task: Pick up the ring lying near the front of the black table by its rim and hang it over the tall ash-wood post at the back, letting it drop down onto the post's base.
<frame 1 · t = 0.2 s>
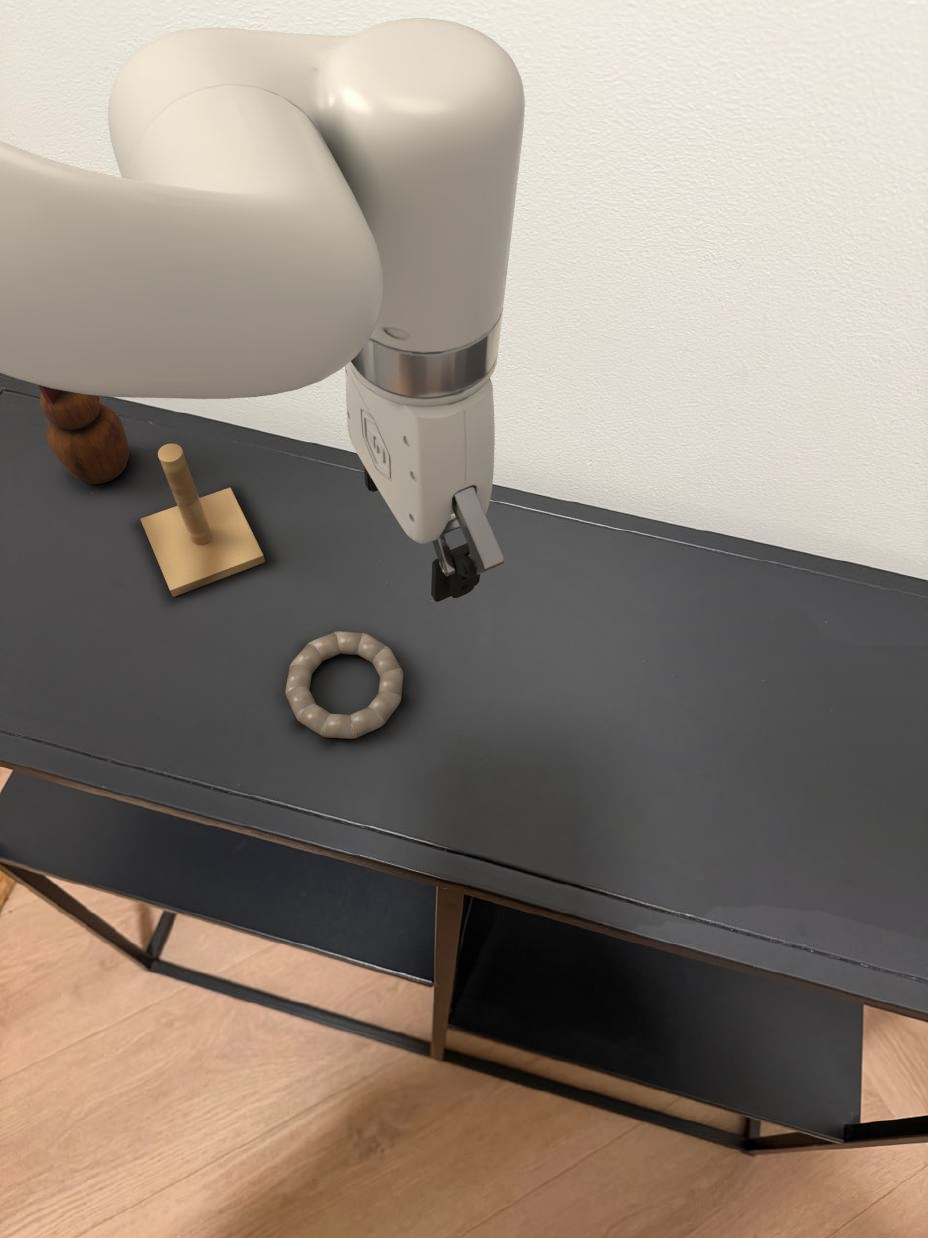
hand: (420, 534, 55), 22 cm above the table, tool pointing down, fingers open, 9 cm apart
wooden figurine: (103, 470, 84), on the table
ring: (344, 683, 73), point 1 cm above the table
post: (203, 543, 81), on the table
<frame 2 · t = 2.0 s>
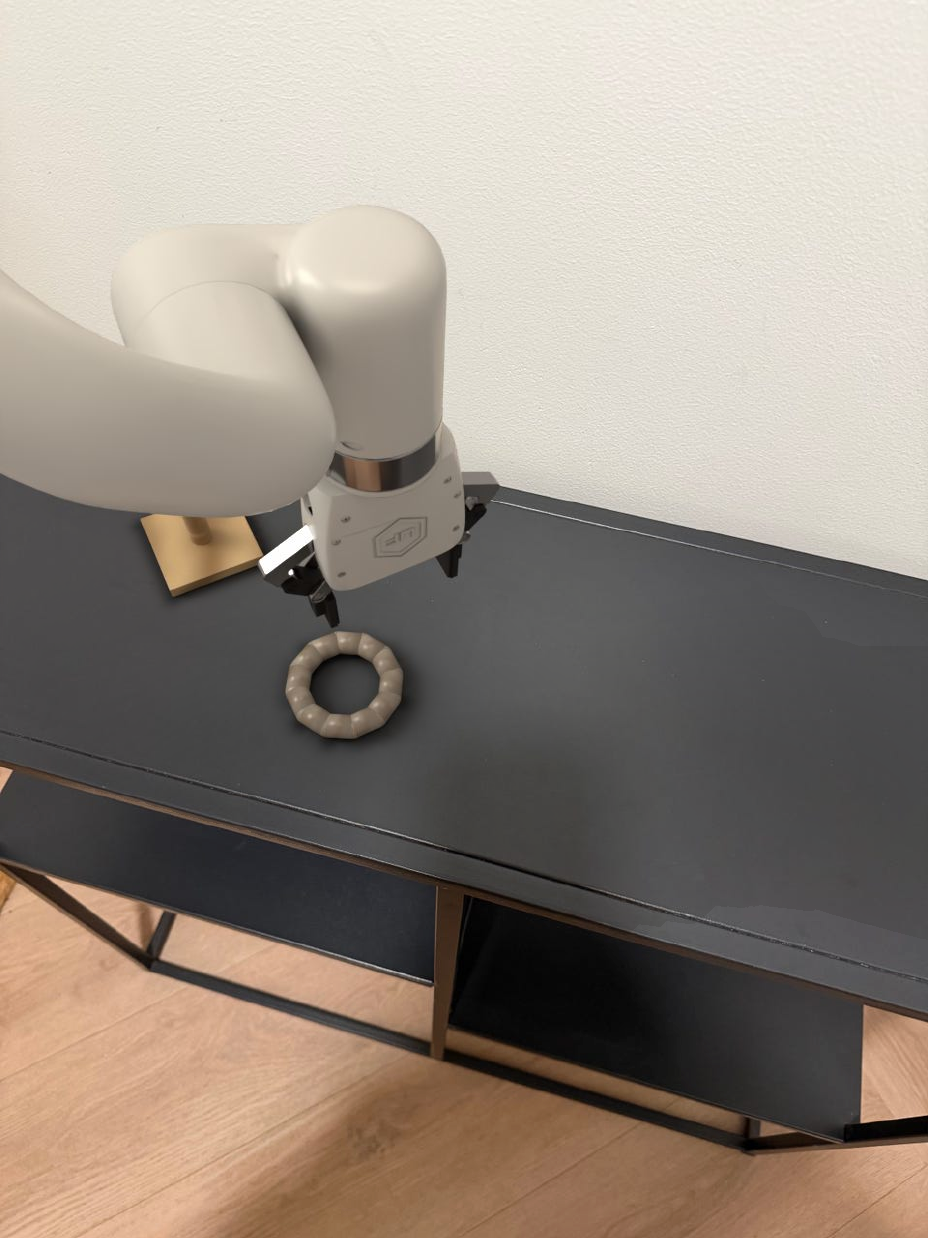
hand: (387, 587, 63), 14 cm above the table, tool pointing down, fingers open, 9 cm apart
nothing on the table moved.
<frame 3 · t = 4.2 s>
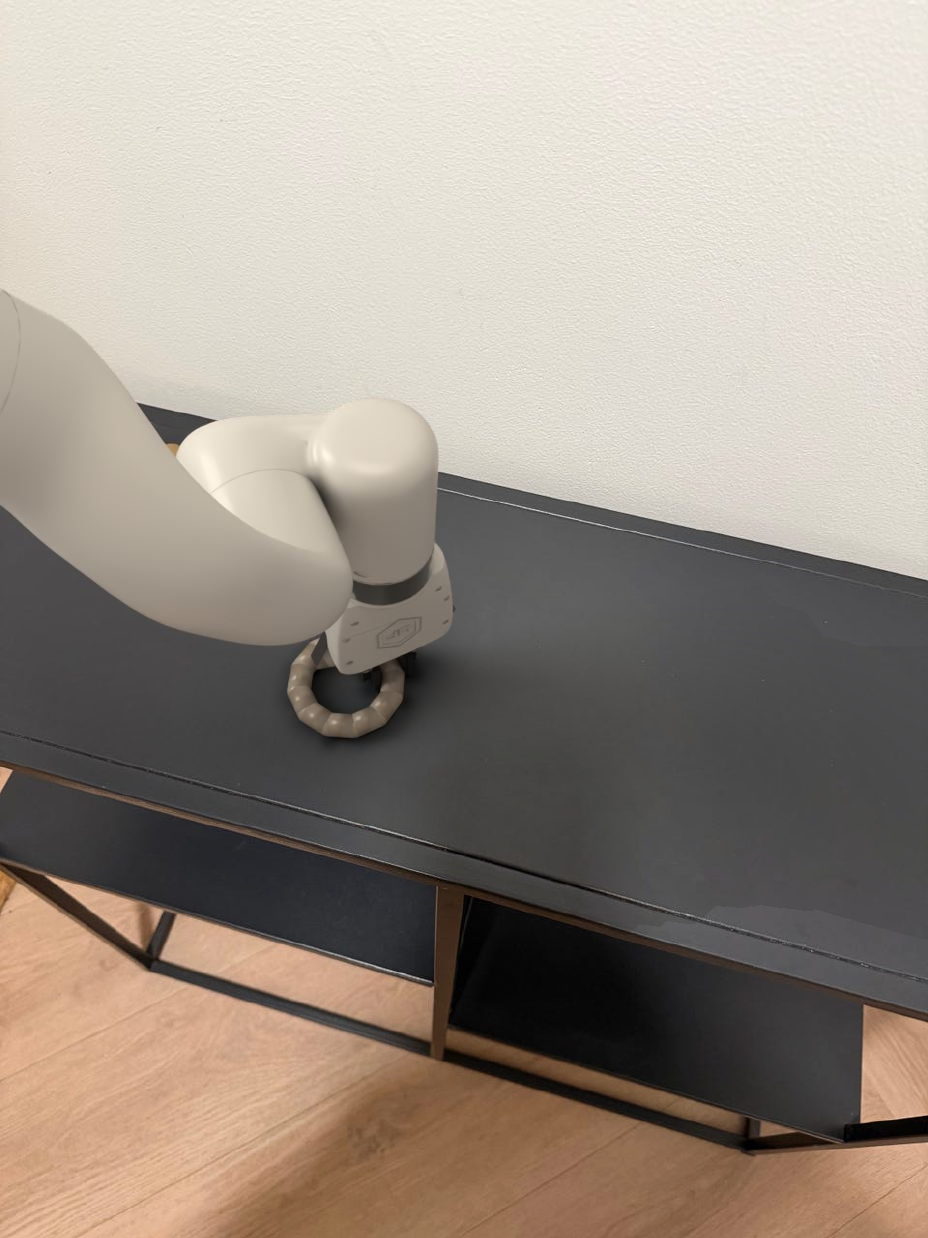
hand: (386, 668, 75), 0 cm above the table, tool pointing down, fingers closed on ring, 2 cm apart
ring: (346, 682, 73), point 1 cm above the table, touching gripper
everything else where it was.
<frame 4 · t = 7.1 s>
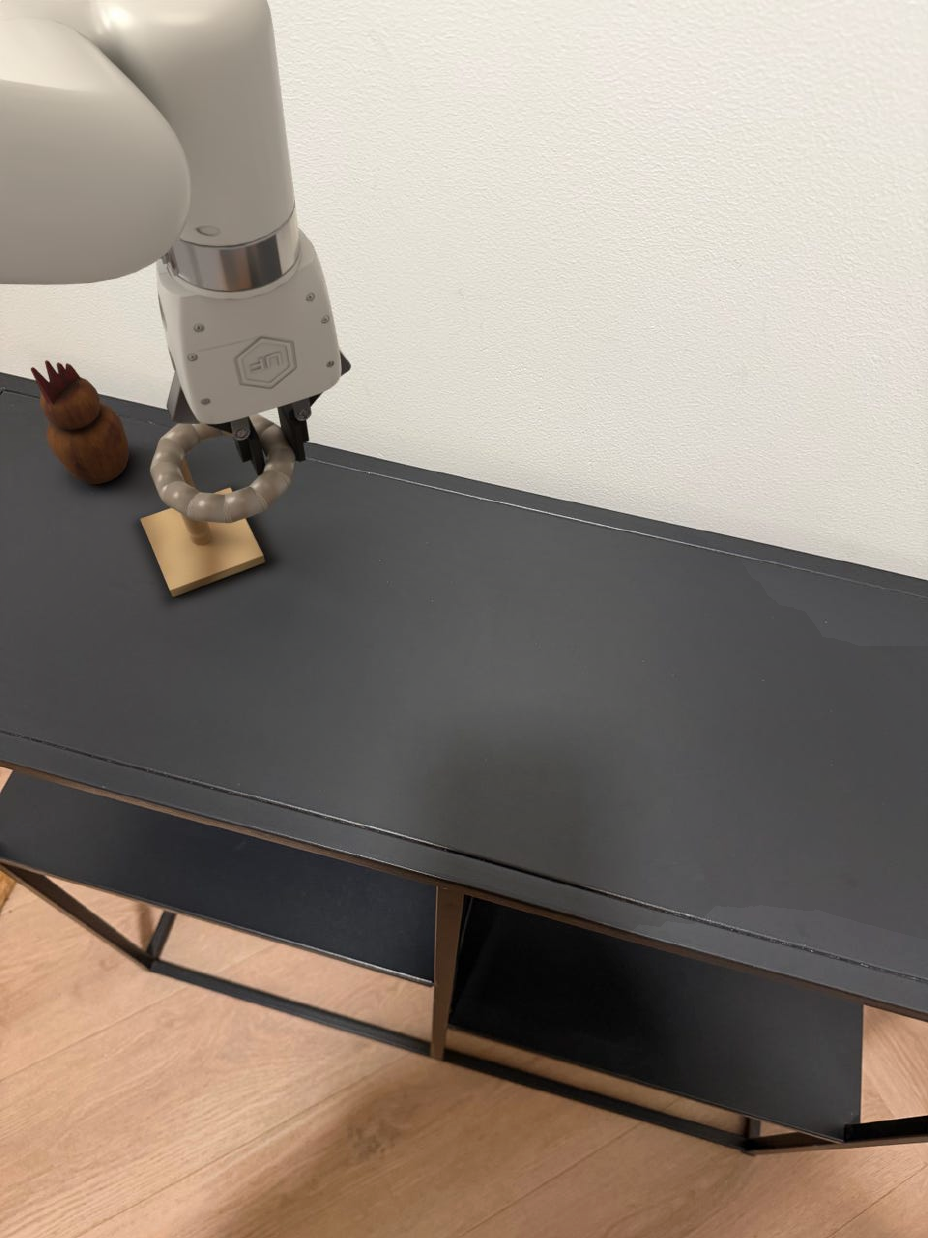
hand: (274, 453, 62), 19 cm above the table, tool pointing down, fingers closed on ring, 2 cm apart
ring: (223, 463, 61), point 20 cm above the table, touching gripper
everything else where it was.
when the fingers open (11 cm above the table, at t = 10.1 s): ring drops 9 cm, resting on post.
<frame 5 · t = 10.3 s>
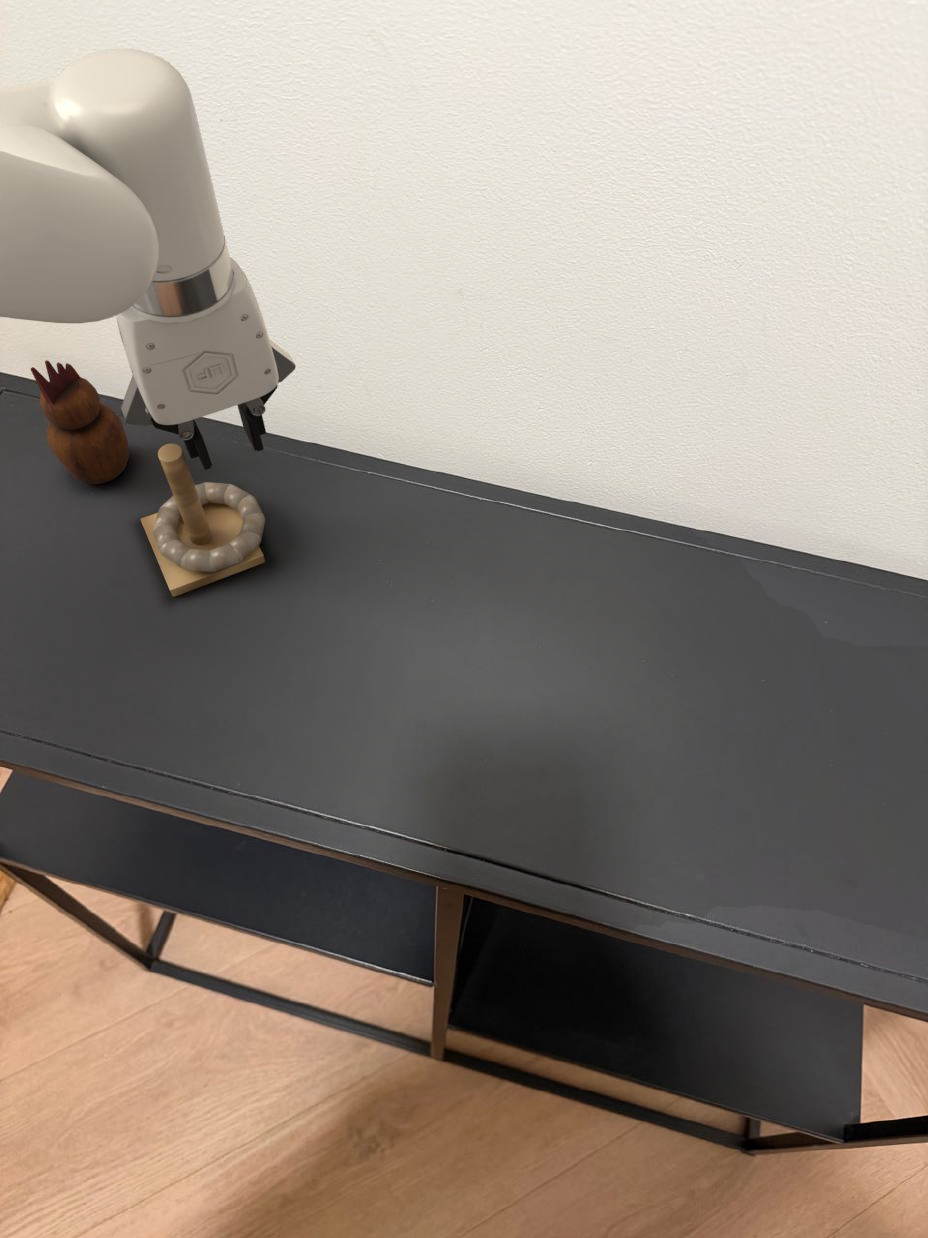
hand: (228, 446, 72), 12 cm above the table, tool pointing down, fingers open, 3 cm apart
ring: (209, 525, 79), point 2 cm above the table, touching post
everything else where it was.
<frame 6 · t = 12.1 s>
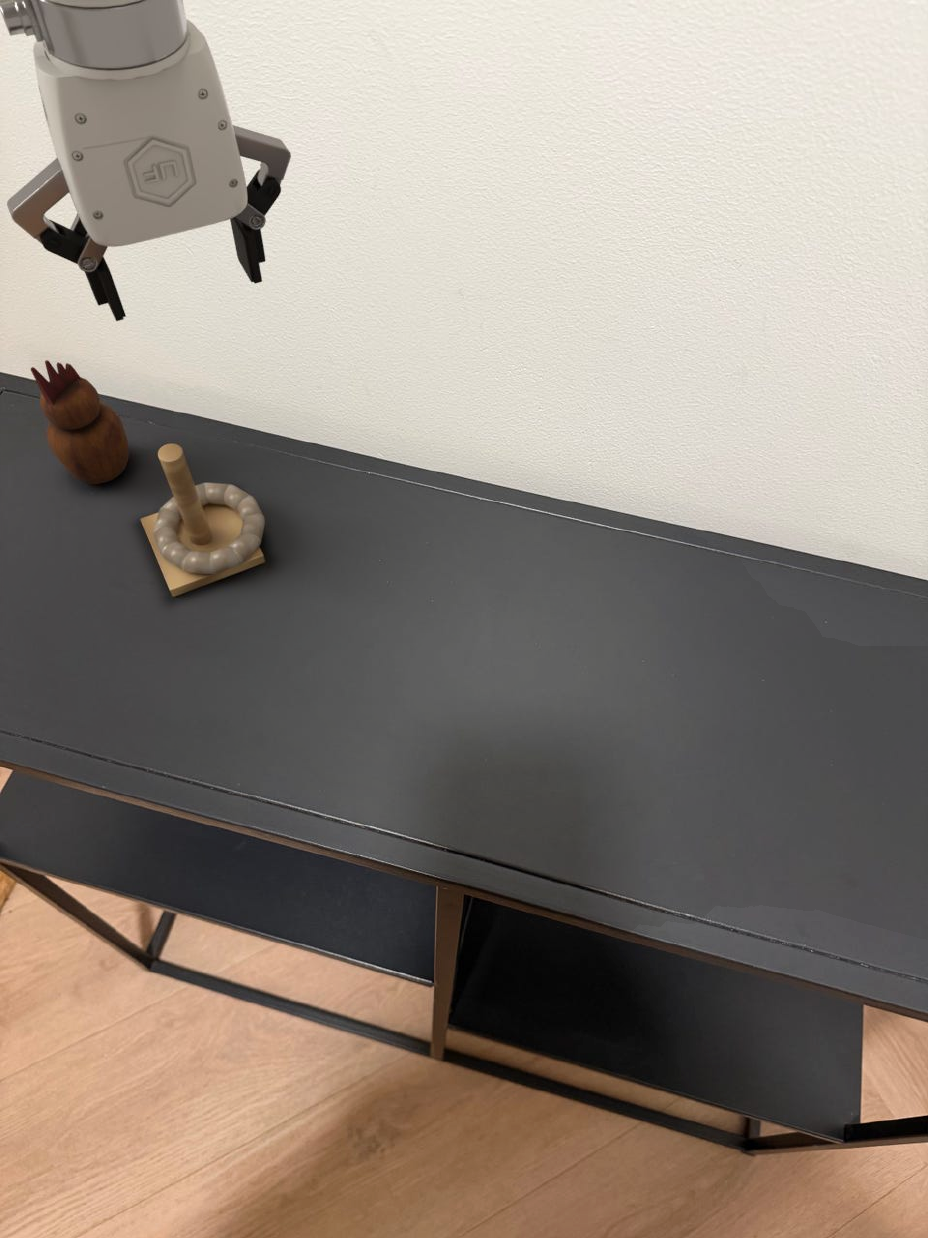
hand: (184, 288, 58), 27 cm above the table, tool pointing down, fingers open, 9 cm apart
nothing on the table moved.
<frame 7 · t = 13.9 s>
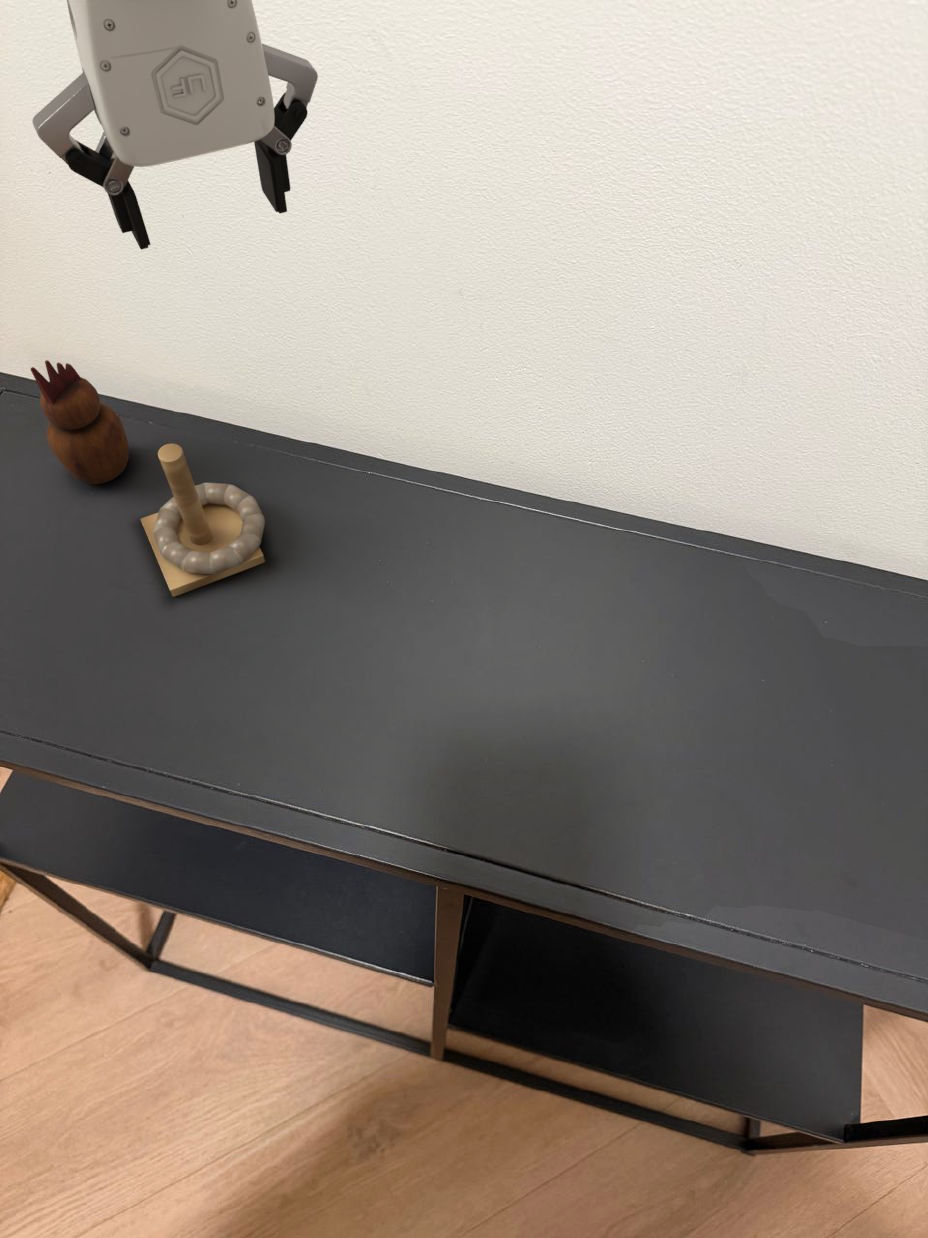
hand: (208, 218, 58), 30 cm above the table, tool pointing down, fingers open, 9 cm apart
nothing on the table moved.
at the end: ring 1.0 cm off-centre on the post, point 2.2 cm above the post's base; the gripper is holding nothing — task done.
